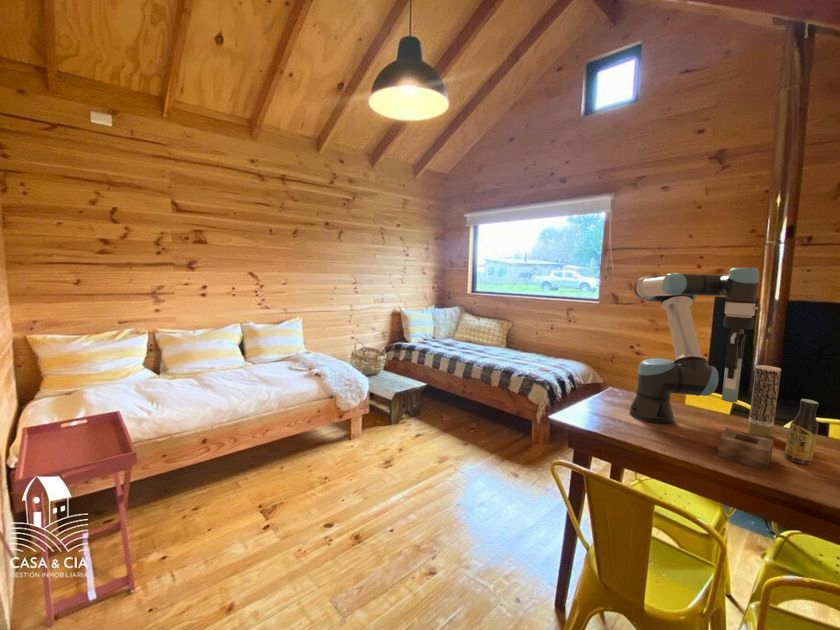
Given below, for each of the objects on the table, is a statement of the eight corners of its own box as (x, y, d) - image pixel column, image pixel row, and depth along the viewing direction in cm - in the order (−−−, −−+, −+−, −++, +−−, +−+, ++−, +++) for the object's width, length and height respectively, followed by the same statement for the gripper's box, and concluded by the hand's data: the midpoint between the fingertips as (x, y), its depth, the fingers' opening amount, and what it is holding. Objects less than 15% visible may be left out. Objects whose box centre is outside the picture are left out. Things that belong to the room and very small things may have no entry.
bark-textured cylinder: (776, 438, 138) (786, 370, 134) (754, 436, 139) (764, 369, 136) (763, 431, 144) (772, 365, 141) (743, 429, 145) (751, 364, 142)
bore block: (717, 455, 124) (719, 437, 123) (724, 444, 132) (726, 427, 131) (766, 470, 115) (769, 451, 115) (771, 457, 124) (773, 439, 123)
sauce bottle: (778, 455, 125) (787, 396, 122) (796, 455, 125) (805, 396, 123) (800, 466, 118) (810, 404, 116) (818, 465, 119) (828, 404, 116)
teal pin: (720, 399, 127) (724, 358, 126) (723, 397, 130) (727, 356, 128) (735, 403, 124) (740, 360, 123) (738, 400, 127) (743, 358, 125)
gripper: (749, 318, 116) (740, 394, 118) (758, 316, 127) (750, 385, 129) (718, 316, 121) (710, 388, 124) (730, 314, 133) (723, 380, 135)
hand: (731, 386), depth 126 cm, fingers closed on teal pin, 4 cm apart
